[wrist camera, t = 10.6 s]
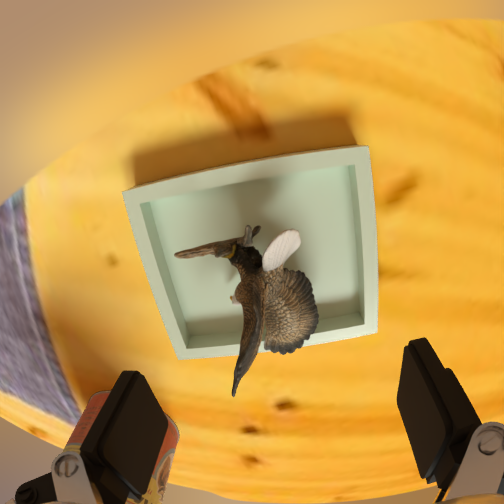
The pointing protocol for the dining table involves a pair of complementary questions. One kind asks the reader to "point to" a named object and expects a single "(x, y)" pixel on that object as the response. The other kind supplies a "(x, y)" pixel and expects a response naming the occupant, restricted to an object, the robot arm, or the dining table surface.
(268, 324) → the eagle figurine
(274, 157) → the tray
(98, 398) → the canned food
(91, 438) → the robot arm
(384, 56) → the dining table surface
